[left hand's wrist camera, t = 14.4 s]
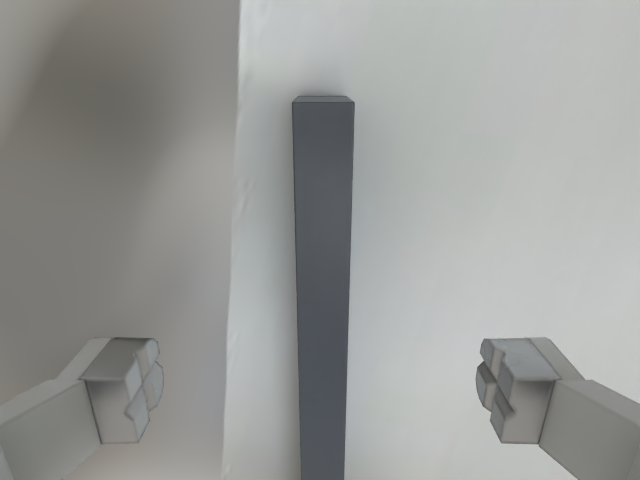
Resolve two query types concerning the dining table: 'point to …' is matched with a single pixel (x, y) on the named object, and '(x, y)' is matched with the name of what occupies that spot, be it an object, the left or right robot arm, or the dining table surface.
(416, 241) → the dining table surface
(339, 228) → the post
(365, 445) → the dining table surface
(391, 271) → the dining table surface
